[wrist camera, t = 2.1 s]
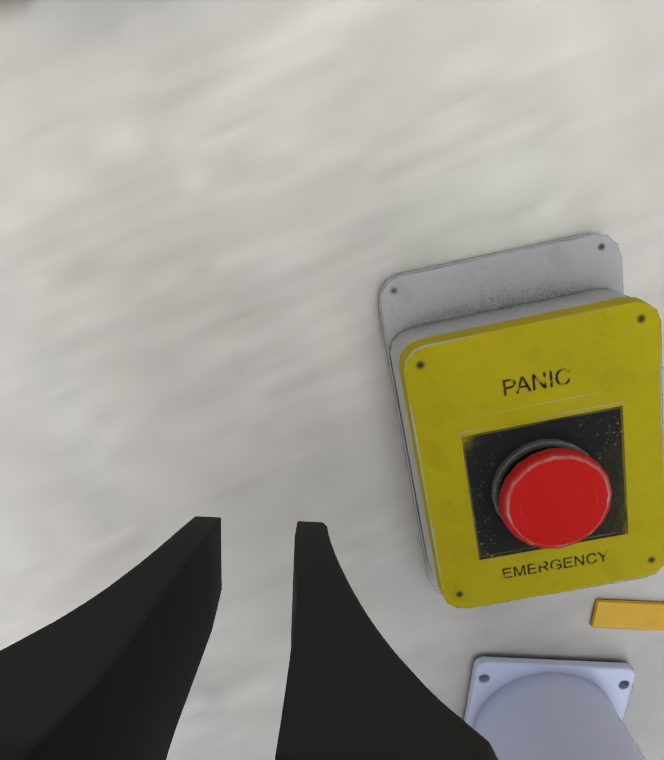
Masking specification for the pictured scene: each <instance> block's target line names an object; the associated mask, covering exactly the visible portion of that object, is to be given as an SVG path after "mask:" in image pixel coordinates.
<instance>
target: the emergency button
mask: <svg viewBox="0 0 664 760" xmlns="http://www.w3.org/2000/svg"><path fill="white" fill-rule="evenodd" d="M379 312H380V318H381V323H382V328H383V334H384V339H385V345H386V350H387V356H388V361H389V366H390V372H391V377H392V383H393V388H394V394H395V399H396V404H397V410H398V415H399V421H400V426H401V432H402V437H403V442H404V448H405V453H406V459H407V464H408V470H409V475H410V480H411V486H412V491H413V497H414V502H415V508H416V513H417V518H418V524H419V529H420V535H421V540H422V546H423V551H424V556H425V562H426V567H427V572H428V575H429V578H430V581H431V583H432V585H433V587H434V589H435V590H436V591H438V592H439V593H441V594H442V595H443V596H444V598H445V600H446V601H447V603H448V604H450V605H452V606H454V607H456V608H472V607H478V606H483V605H489V604H495V603H501V602H507V601H513V600H518V599H524V598H530V597H536V596H542V595H547V594H553V593H559V592H565V591H571V590H577V589H582V588H588V587H594V586H600V585H606V584H611V583H617V582H623V581H629V580H635V579H641V578H645V577H647V576H650V575H653V574H655V573H656V572H657V571H658V570H659V569H660V568H662V567H663V565H664V431H663V384H662V338H661V319H660V316H659V313H658V311H657V309H655V308H654V307H652V306H651V305H649V304H648V303H646V302H644V301H642V300H640V299H638V298H636V297H629V296H627V295H624V294H623V272H622V257H621V253H620V250H619V247H618V244H617V243H616V242H615V241H614V240H613V239H612V238H610V237H609V236H608V235H601V234H581V235H577V236H572V237H567V238H563V239H558V240H553V241H549V242H544V243H540V244H535V245H530V246H526V247H521V248H516V249H512V250H507V251H502V252H498V253H493V254H488V255H484V256H479V257H474V258H470V259H465V260H460V261H456V262H451V263H446V264H442V265H437V266H432V267H428V268H423V269H418V270H414V271H409V272H404V273H400V274H396V275H395V276H393V277H391V278H389V279H387V280H386V281H385V283H384V285H383V286H382V288H381V290H380V292H379Z"/></svg>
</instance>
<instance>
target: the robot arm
mask: <svg viewBox="0 0 664 760" xmlns="http://www.w3.org/2000/svg"><path fill="white" fill-rule="evenodd" d="M221 590H222V582H221V518H218V517H197V516H195V517H194V518H193V519H192V520H191V521H189V522H188V523H187V524H186V525H185V526H183V527H182V528H181V529H180V530H179V531H178V532H177V533H175V534H174V535H173V536H172V537H171V538H170V539H168V540H167V541H166V542H165V543H164V544H163V545H161V546H160V547H159V548H158V549H157V550H156V551H154V552H153V553H152V554H151V555H149V556H148V557H147V558H146V559H145V560H143V561H142V562H141V563H140V564H139V565H137V566H136V567H135V568H133V569H132V570H131V571H129V572H128V573H127V574H125V575H124V576H123V577H121V578H120V579H119V580H117V581H116V582H115V583H113V584H112V585H111V586H109V587H108V588H107V589H105V590H104V591H102V592H101V593H99V594H98V595H96V596H95V597H93V598H92V599H90V600H89V601H87V602H86V603H84V604H83V605H81V606H79V607H78V608H76V609H75V610H73V611H71V612H70V613H68V614H67V615H65V616H63V617H62V618H60V619H58V620H57V621H55V622H53V623H51V624H49V625H48V626H46V627H44V628H42V629H40V630H38V631H36V632H35V633H33V634H31V635H29V636H27V637H25V638H23V639H22V640H20V641H18V642H16V643H14V644H12V645H10V646H9V647H7V648H5V649H3V650H1V651H0V760H166V758H167V754H168V751H169V748H170V744H171V741H172V738H173V735H174V732H175V729H176V726H177V724H178V721H179V718H180V715H181V713H182V710H183V707H184V705H185V702H186V699H187V696H188V694H189V691H190V688H191V686H192V683H193V680H194V678H195V675H196V672H197V669H198V667H199V664H200V661H201V659H202V656H203V653H204V650H205V648H206V645H207V642H208V639H209V636H210V634H211V631H212V627H213V623H214V619H215V615H216V611H217V607H218V603H219V598H220V594H221ZM484 674H485V675H484ZM481 675H483V676H481ZM635 677H636V673H635V671H634V669H633V668H632V667H631V665H629V664H628V663H619V662H596V661H574V660H551V659H529V658H506V657H480V658H478V659H476V660H475V662H474V664H473V670H472V676H471V682H470V688H469V694H468V700H467V706H466V711H465V717H464V720H462V719H461V718H460V717H459V716H457V715H456V714H455V713H454V712H453V711H451V710H450V709H449V708H448V707H447V706H446V705H444V704H443V703H442V702H441V701H440V700H439V699H438V698H437V697H436V696H435V695H434V694H433V693H432V692H431V691H430V690H429V689H428V688H427V687H425V685H424V684H423V683H422V682H421V681H420V680H419V679H418V678H417V677H416V675H415V674H414V673H413V672H412V671H411V670H410V669H409V668H408V667H407V666H406V664H405V663H404V662H403V661H402V660H401V659H400V658H399V657H398V656H397V654H396V653H395V652H394V651H393V649H392V648H391V647H390V646H389V644H388V643H387V642H386V640H385V639H384V638H383V637H382V635H381V634H380V632H379V631H378V630H377V628H376V627H375V626H374V624H373V623H372V621H371V620H370V618H369V617H368V615H367V614H366V612H365V611H364V609H363V607H362V606H361V604H360V602H359V601H358V599H357V597H356V596H355V594H354V592H353V590H352V589H351V587H350V585H349V583H348V581H347V579H346V577H345V575H344V573H343V571H342V569H341V567H340V564H339V562H338V560H337V558H336V555H335V553H334V550H333V547H332V545H331V542H330V538H329V535H328V530H327V526H326V525H325V524H324V523H323V522H302V521H298V523H297V527H296V533H295V547H294V574H293V602H292V629H291V654H290V662H289V669H288V677H287V684H286V691H285V698H284V705H283V711H282V718H281V724H280V731H279V737H278V744H277V750H276V756H275V760H646V759H645V757H644V756H643V754H642V752H641V751H640V749H639V747H638V746H637V744H636V742H635V741H634V739H633V737H632V736H631V734H630V733H629V731H628V729H627V728H626V726H625V724H624V723H623V718H624V715H625V711H626V708H627V705H628V701H629V698H630V694H631V691H632V687H633V684H634V680H635Z"/></svg>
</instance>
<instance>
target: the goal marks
mask: <svg viewBox="0 0 664 760" xmlns="http://www.w3.org/2000/svg"><path fill="white" fill-rule="evenodd" d="M591 626H592V627H599V628H622V629H644V630H664V602H649V601H628V600H606V599H596V603H595V607H594V612H593V616H592V620H591Z"/></svg>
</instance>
